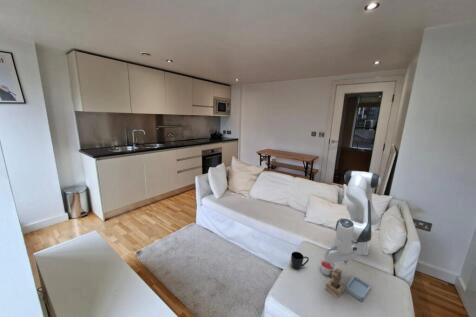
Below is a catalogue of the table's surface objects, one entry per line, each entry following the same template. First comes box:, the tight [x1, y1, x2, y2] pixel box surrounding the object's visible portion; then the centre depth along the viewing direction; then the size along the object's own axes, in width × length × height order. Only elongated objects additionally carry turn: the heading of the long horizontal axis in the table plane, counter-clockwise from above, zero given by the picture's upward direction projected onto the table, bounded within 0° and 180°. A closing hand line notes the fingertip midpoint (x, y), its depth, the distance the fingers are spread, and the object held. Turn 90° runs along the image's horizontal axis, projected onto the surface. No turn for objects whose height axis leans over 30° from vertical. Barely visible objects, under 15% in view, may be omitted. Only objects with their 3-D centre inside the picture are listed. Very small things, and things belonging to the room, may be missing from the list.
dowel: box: [333, 275, 340, 289], centre depth 122 cm, size 3×3×10 cm
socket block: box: [324, 277, 346, 299], centre depth 123 cm, size 8×8×4 cm
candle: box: [320, 259, 335, 276], centre depth 137 cm, size 9×9×6 cm
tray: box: [344, 274, 372, 303], centre depth 124 cm, size 14×10×3 cm
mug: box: [290, 251, 309, 271], centre depth 140 cm, size 8×12×10 cm
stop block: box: [330, 267, 342, 279], centre depth 132 cm, size 8×3×5 cm, turn 129°
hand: (338, 265), depth 119 cm, fingers open, 8 cm apart
